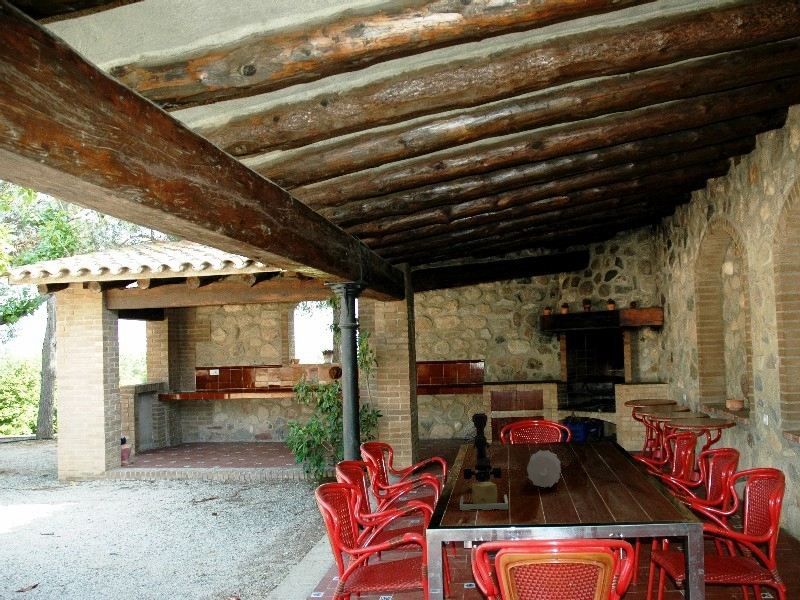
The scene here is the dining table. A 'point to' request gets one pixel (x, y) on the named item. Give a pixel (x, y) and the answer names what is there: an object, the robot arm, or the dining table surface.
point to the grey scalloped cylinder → (544, 469)
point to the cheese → (484, 493)
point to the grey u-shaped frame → (484, 505)
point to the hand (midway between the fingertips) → (483, 487)
